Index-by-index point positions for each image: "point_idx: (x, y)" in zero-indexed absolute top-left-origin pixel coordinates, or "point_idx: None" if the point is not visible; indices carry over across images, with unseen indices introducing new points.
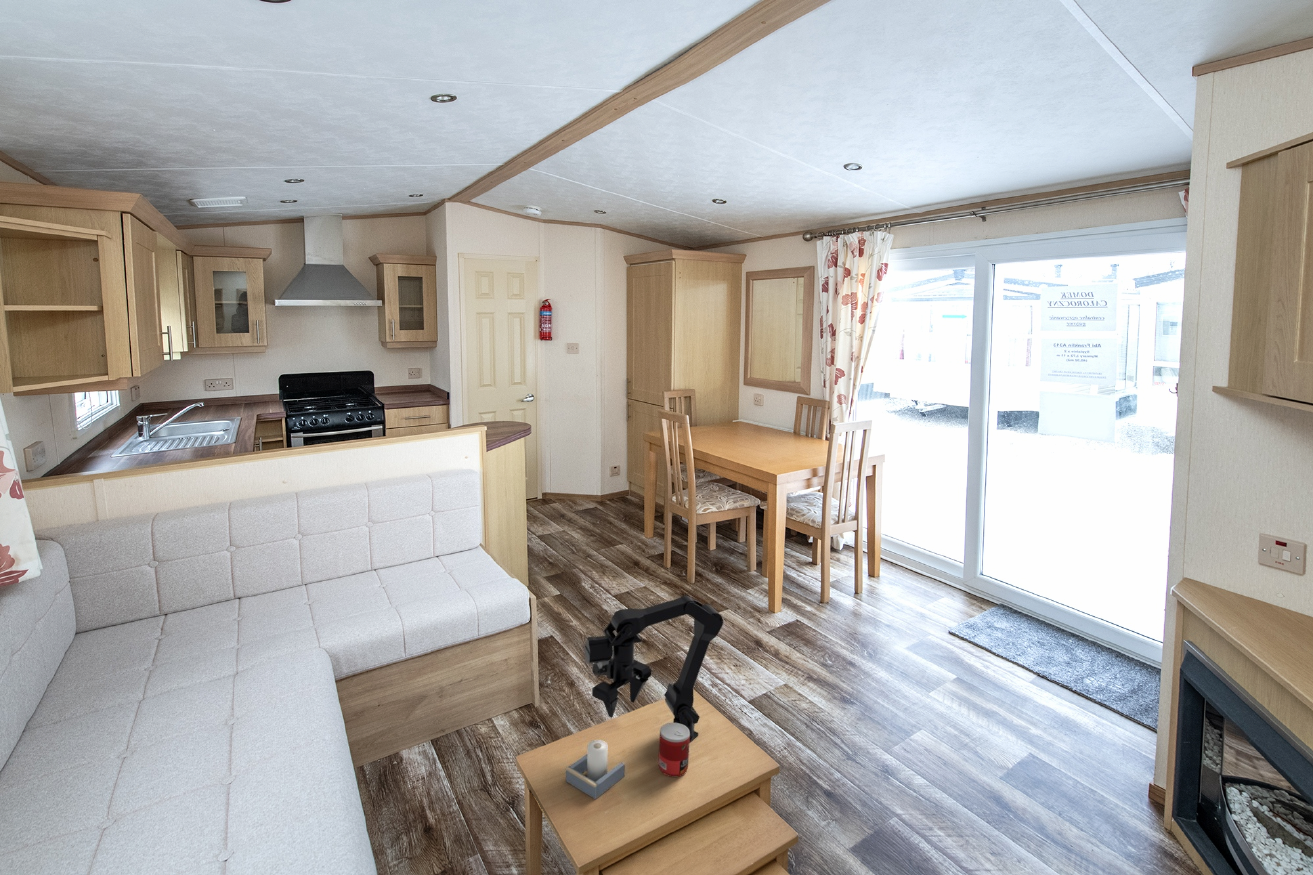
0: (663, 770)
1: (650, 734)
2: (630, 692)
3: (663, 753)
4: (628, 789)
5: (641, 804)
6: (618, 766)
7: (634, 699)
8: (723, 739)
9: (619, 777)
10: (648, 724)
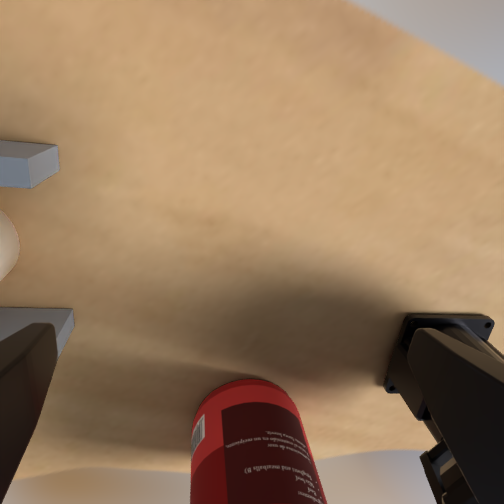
0: (192, 428)
1: (387, 250)
2: (499, 392)
3: (191, 499)
4: None
5: None
6: None
7: (425, 402)
8: None
9: None
10: (454, 200)
